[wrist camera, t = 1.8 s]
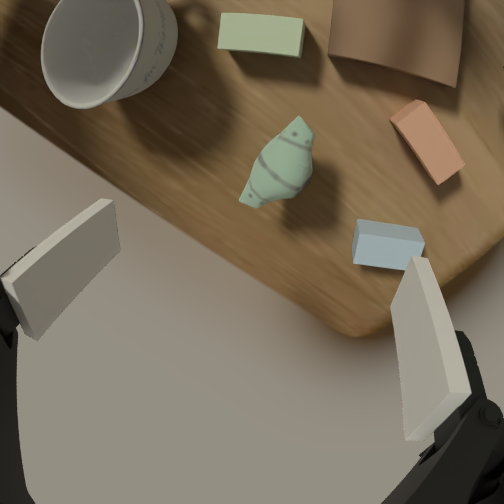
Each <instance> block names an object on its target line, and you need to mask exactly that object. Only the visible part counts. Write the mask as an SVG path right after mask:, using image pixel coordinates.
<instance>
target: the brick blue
mask: <svg viewBox="0 0 504 504" xmlns="http://www.w3.org/2000/svg"><path fill="white" fill-rule="evenodd" d="M424 245H425V242H424V240H423V238H422V236H421V234H420V232H419V230H418V228H414V227H407V226H401V225H395V224H388V223H382V222H375V221H368V220H361V219H357V223H356V229H355V234H354V239H353V244H352V254H353V263H354V264H361V265H369V266H376V267H383V268H391V269H398V270H406V268H407V265H408V263H409V260H410V257H411V255H414V256H419V257H421V254H422V251H423V248H424Z"/></svg>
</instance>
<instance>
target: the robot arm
mask: <svg viewBox="0 0 504 504" xmlns="http://www.w3.org/2000/svg"><path fill="white" fill-rule="evenodd" d="M119 252H120V244H119V237H118V230H117V222H116V214H115V206H114V200H110V199H104V198H101V199H99V200H98V201H96V202H95V203H94V204H92V205H91V206H89V207H88V208H87V209H85V210H84V211H82V212H81V213H80V214H78V215H77V216H75V217H74V218H73V219H71V220H70V221H69V222H67V223H66V224H65V225H63V226H62V227H61V228H59V229H58V230H57V231H55V232H54V233H53V234H52V235H51V236H49V237H48V238H47V239H46V240H44V241H43V242H42V243H40V244H39V245H38V246H36V247H34V248H32V249H31V250H29V251H28V252H27V253H26V254H25V255H24V257H23V256H22V257H21V258H20V259H19V260H18V261H17V262H15V263H14V264H13V265H12V266H10V267H9V268H8V269H7V270H6V271H5V272H4V273H2V274H1V275H0V504H35V502H34V501H33V499H32V498H31V496H30V495H29V493H28V491H27V488H26V484H25V478H24V472H23V465H22V458H21V450H20V441H19V430H18V416H17V389H16V388H17V386H16V376H17V374H16V373H17V344H18V332H17V330H16V327H17V326H18V325H19V323H20V325H21V327H22V329H23V331H24V333H25V334H26V335H28V336H29V337H32V338H33V339H35V340H39V338H40V337H41V336H42V335H43V334H44V333H45V331H46V330H47V329H48V328H49V327H50V325H51V324H52V323H53V322H54V321H55V320H56V318H57V317H58V316H59V315H60V314H61V313H62V312H63V311H64V310H65V308H66V307H67V306H68V305H69V304H70V303H71V302H72V301H73V299H75V297H76V296H77V295H78V294H79V293H80V292H81V291H82V290H83V289H84V288H85V286H86V285H87V284H88V283H89V282H90V281H91V280H92V279H93V278H94V277H95V276H96V275H97V274H98V273H99V272H100V271H101V270H102V269H103V267H105V266H106V265H107V264H108V263H109V262H110V261H111V259H112V258H114V256H115V255H116V254H117V253H119ZM390 308H391V314H392V320H393V326H394V333H395V340H396V348H397V355H398V364H399V373H400V383H401V393H402V407H403V423H404V440H425V439H427V438H428V437H429V436H430V435H431V434H432V433H433V432H434V439H435V442H434V443H433V444H432V445H430V446H429V447H428V448H427V449H426V450H425V451H423V452H422V453H421V454H420V455H419V456H420V457H421V458H420V460H419V461H418V462H417V464H416V465H415V466H414V467H413V468H412V470H411V471H410V472H409V473H408V474H407V475H406V477H405V478H404V479H403V480H402V481H401V482H400V484H399V485H398V486H397V487H396V488H395V489H394V490H393V491H392V493H391V494H390V495H389V496H388V497H387V498H386V499H385V500H384V501H383V502H382V503H381V504H504V418H503V414H502V412H501V410H500V408H499V407H498V406H497V405H496V404H495V403H494V402H492V401H490V400H488V399H487V396H486V393H485V389H484V385H483V381H482V378H481V374H480V371H479V367H478V366H477V361H476V358H475V356H474V351H473V348H472V345H471V342H470V341H469V339H468V338H467V337H466V335H465V334H464V332H462V331H456V330H454V328H453V325H452V322H451V319H450V316H449V313H448V310H447V307H446V305H445V302H444V299H443V296H442V294H441V291H440V288H439V286H438V283H437V281H436V278H435V276H434V273H433V271H432V268H431V266H430V263H429V261H428V258H423V257H419V256H414V255H411V257H410V260H409V263H408V265H407V268H406V270H405V273H404V275H403V278H402V280H401V283H400V285H399V287H398V290H397V292H396V294H395V297H394V299H393V301H392V304H391V306H390Z"/></svg>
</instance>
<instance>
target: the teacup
mask: <svg viewBox="0 0 504 504" xmlns="http://www.w3.org/2000/svg"><path fill="white" fill-rule="evenodd" d="M177 40H178V26H177V21H176V18H175V15H174V12H173V10H172V9H171V7H170V6H169V4H168V3H167V2H166V1H165V0H61V1H60V2H59V3H58V5H57V6H56V7H55V9H54V11H53V12H52V14H51V16H50V18H49V20H48V22H47V25H46V28H45V31H44V35H43V39H42V46H41V64H42V70H43V74H44V78H45V80H46V83H47V85H48V87H49V89H50V90H51V91H52V93H53V94H54V95H55V97H56V98H57V99H59V100H60V101H61V102H62V103H63V104H65V105H67V106H69V107H72V108H76V109H89V108H94V107H97V106H99V105H101V104H103V103H107V102H111V101H116V100H119V99H123V98H126V97H130V96H133V95H135V94H137V93H139V92H141V91H143V90H145V89H147V88H148V87H150V86H151V85H152V84H153V83H155V82H156V81H157V80H158V79H159V78H160V77H161V76H162V74H163V73H164V72H165V70H166V69H167V67H168V66H169V64H170V62H171V60H172V58H173V56H174V53H175V50H176V46H177Z"/></svg>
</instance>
